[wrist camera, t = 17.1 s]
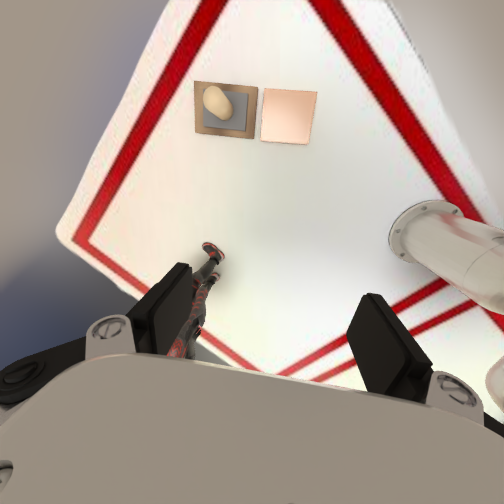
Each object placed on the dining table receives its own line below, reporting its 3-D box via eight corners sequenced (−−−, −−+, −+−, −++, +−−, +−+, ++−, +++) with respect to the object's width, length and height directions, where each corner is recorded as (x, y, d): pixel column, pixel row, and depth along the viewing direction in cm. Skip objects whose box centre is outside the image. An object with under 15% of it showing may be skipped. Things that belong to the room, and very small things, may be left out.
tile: (317, 91, 31) (264, 88, 31) (308, 144, 34) (260, 140, 34) (314, 95, 33) (264, 92, 33) (306, 144, 36) (260, 141, 36)
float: (248, 94, 32) (242, 77, 25) (245, 131, 34) (239, 125, 27) (204, 90, 32) (186, 71, 25) (204, 126, 34) (187, 119, 27)
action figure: (211, 236, 44) (120, 364, 17) (244, 272, 47) (210, 427, 20) (180, 261, 48) (62, 401, 21) (213, 293, 51) (148, 450, 24)
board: (257, 89, 33) (257, 86, 31) (253, 138, 36) (253, 138, 34) (196, 83, 33) (194, 80, 32) (197, 133, 36) (195, 132, 35)
